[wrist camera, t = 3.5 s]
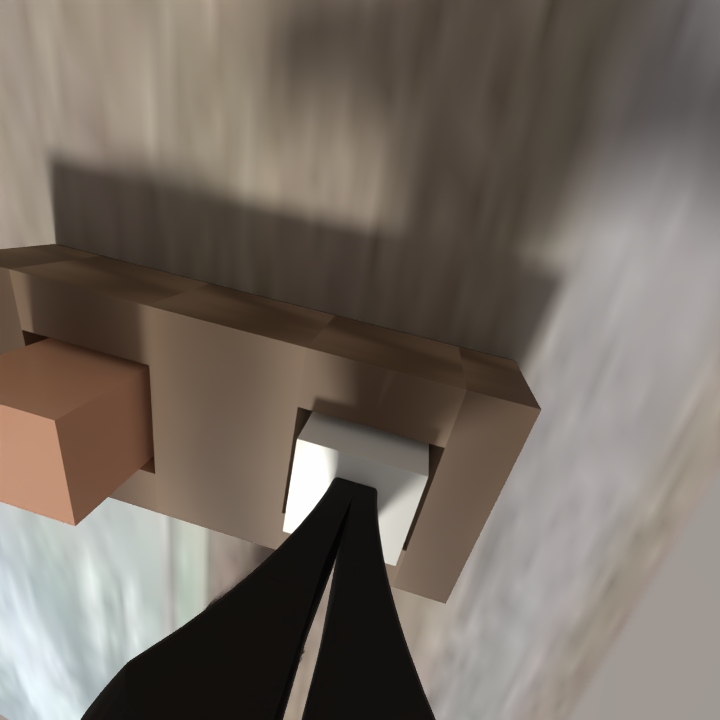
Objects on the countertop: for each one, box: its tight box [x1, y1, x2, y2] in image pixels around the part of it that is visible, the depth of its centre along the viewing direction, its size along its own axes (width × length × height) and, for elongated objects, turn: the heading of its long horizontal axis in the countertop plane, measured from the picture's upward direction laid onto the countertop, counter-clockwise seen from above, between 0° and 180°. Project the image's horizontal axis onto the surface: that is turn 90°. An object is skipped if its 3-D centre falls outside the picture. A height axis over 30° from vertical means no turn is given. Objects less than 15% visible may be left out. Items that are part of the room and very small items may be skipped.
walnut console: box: [0, 244, 541, 604], centre depth 14 cm, size 19×9×4 cm, turn 78°
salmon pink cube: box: [0, 338, 154, 526], centre depth 12 cm, size 4×4×4 cm
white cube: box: [283, 411, 429, 566], centre depth 13 cm, size 4×4×4 cm
